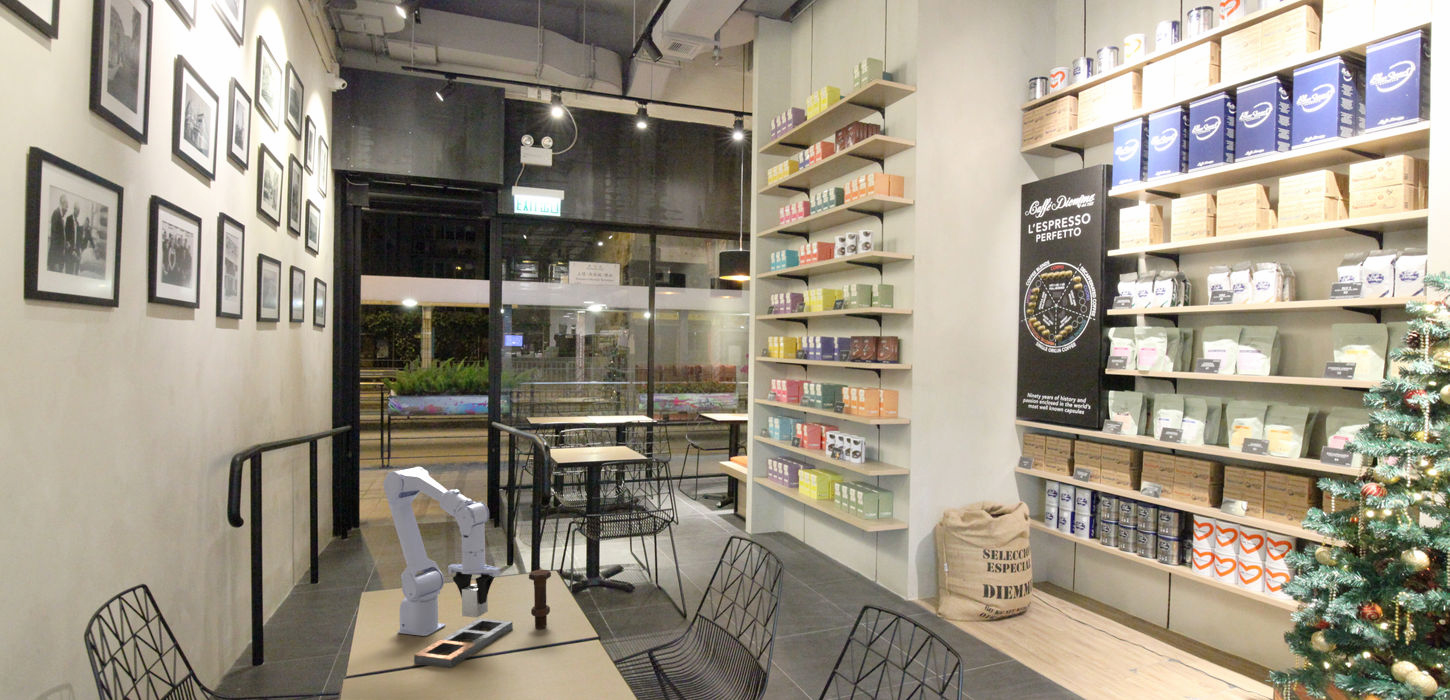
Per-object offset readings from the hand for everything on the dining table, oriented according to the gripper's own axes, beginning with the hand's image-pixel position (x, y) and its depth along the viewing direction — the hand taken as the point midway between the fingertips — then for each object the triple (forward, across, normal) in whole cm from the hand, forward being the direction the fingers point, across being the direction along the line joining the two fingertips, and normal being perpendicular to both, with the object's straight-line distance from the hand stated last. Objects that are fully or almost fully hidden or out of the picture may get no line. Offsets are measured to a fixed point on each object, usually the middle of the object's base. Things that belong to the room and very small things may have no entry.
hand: (474, 602), depth 191 cm
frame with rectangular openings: (+10, 0, -4) cm, 11 cm away
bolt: (+10, +12, +12) cm, 20 cm away
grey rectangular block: (+3, 0, 0) cm, 3 cm away
